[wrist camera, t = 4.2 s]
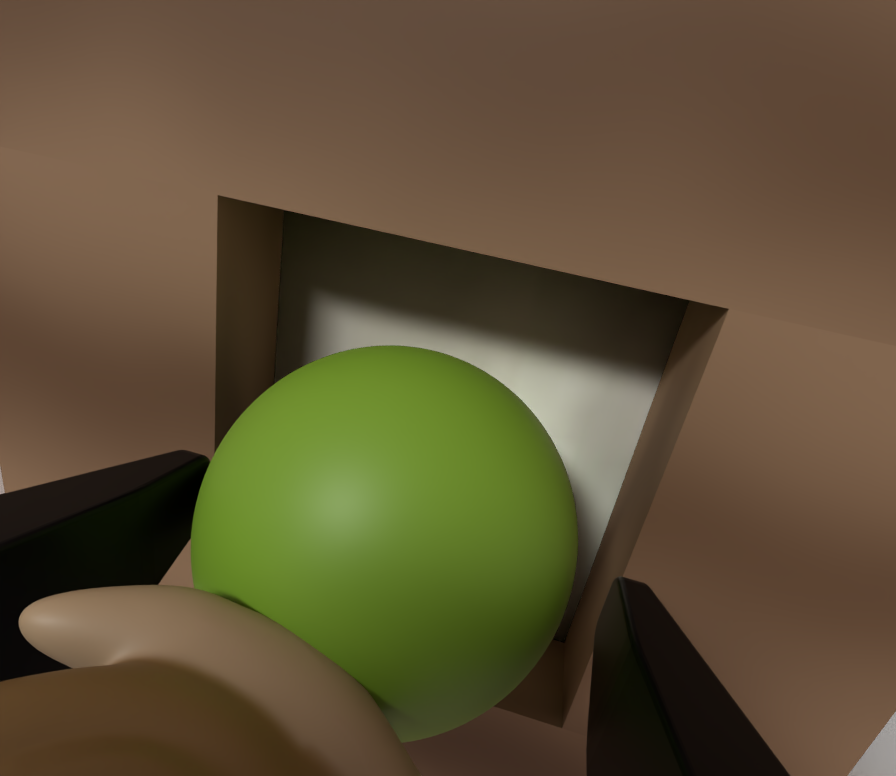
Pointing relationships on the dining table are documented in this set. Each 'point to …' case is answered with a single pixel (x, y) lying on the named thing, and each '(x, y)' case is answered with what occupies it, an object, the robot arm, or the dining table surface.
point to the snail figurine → (319, 588)
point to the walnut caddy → (513, 238)
